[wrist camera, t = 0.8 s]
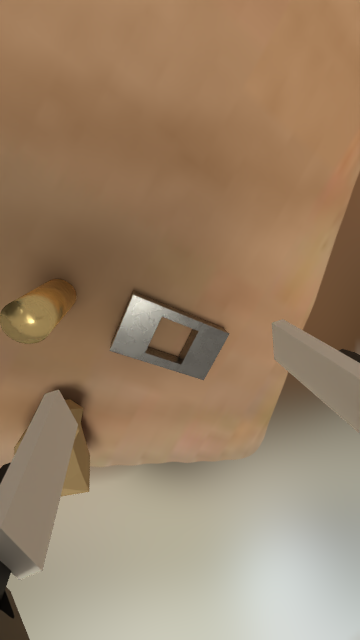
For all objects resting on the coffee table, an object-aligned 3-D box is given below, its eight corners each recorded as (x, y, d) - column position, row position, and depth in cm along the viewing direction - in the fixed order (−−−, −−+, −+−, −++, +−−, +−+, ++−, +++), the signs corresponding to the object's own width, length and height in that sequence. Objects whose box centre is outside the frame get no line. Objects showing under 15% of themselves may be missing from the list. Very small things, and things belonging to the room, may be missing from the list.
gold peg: (37, 303, 32) (-6, 335, 22) (47, 273, 31) (6, 293, 21) (70, 314, 33) (44, 349, 23) (80, 286, 32) (57, 310, 22)
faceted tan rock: (72, 461, 43) (122, 464, 38) (12, 520, 33) (70, 533, 28) (45, 386, 41) (93, 379, 37) (-27, 424, 31) (28, 421, 27)
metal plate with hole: (111, 343, 36) (109, 350, 34) (133, 290, 34) (133, 294, 32) (199, 371, 41) (203, 380, 39) (223, 327, 39) (229, 333, 37)
